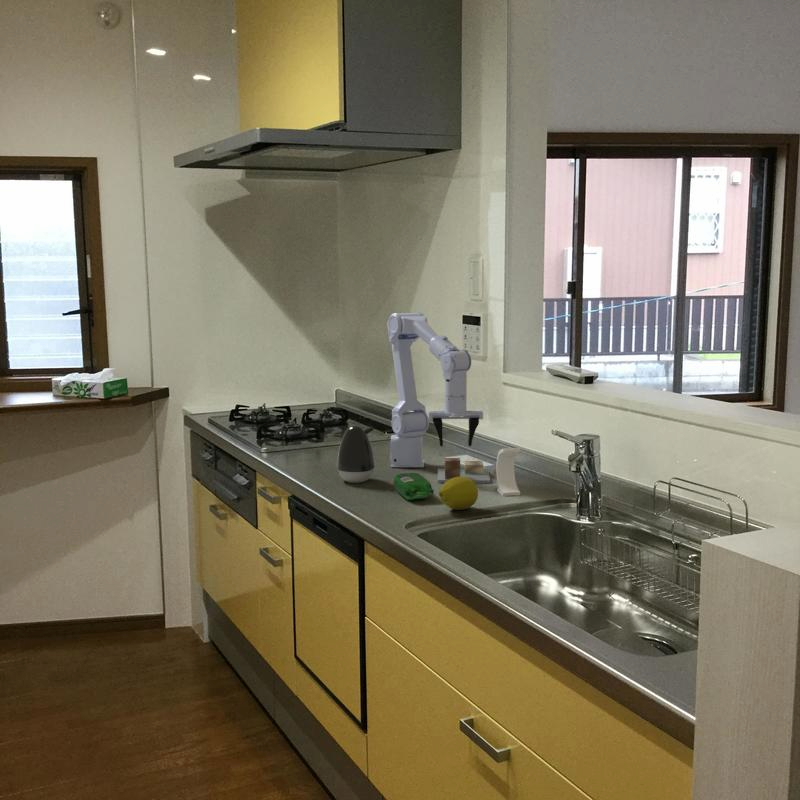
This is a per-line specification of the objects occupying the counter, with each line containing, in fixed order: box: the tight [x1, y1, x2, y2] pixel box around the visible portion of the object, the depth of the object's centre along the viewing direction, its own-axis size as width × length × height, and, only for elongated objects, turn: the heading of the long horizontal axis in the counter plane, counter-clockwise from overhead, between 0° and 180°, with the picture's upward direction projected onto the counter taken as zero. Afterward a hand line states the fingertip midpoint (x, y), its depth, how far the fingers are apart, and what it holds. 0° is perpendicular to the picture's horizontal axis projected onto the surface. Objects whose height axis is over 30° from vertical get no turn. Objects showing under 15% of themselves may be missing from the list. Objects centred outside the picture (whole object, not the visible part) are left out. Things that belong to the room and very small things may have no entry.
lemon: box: [438, 477, 479, 511], centre depth 226 cm, size 11×8×8 cm
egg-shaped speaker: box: [336, 424, 375, 484], centre depth 255 cm, size 10×10×15 cm
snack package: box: [393, 472, 435, 501], centre depth 239 cm, size 7×16×5 cm, turn 15°
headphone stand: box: [495, 447, 522, 497], centre depth 242 cm, size 5×6×12 cm
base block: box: [464, 460, 484, 474], centre depth 263 cm, size 5×5×2 cm
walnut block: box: [444, 457, 461, 479], centre depth 256 cm, size 4×4×5 cm
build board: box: [437, 468, 491, 484], centre depth 260 cm, size 14×14×1 cm
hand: (455, 445), depth 256 cm, fingers open, 7 cm apart
